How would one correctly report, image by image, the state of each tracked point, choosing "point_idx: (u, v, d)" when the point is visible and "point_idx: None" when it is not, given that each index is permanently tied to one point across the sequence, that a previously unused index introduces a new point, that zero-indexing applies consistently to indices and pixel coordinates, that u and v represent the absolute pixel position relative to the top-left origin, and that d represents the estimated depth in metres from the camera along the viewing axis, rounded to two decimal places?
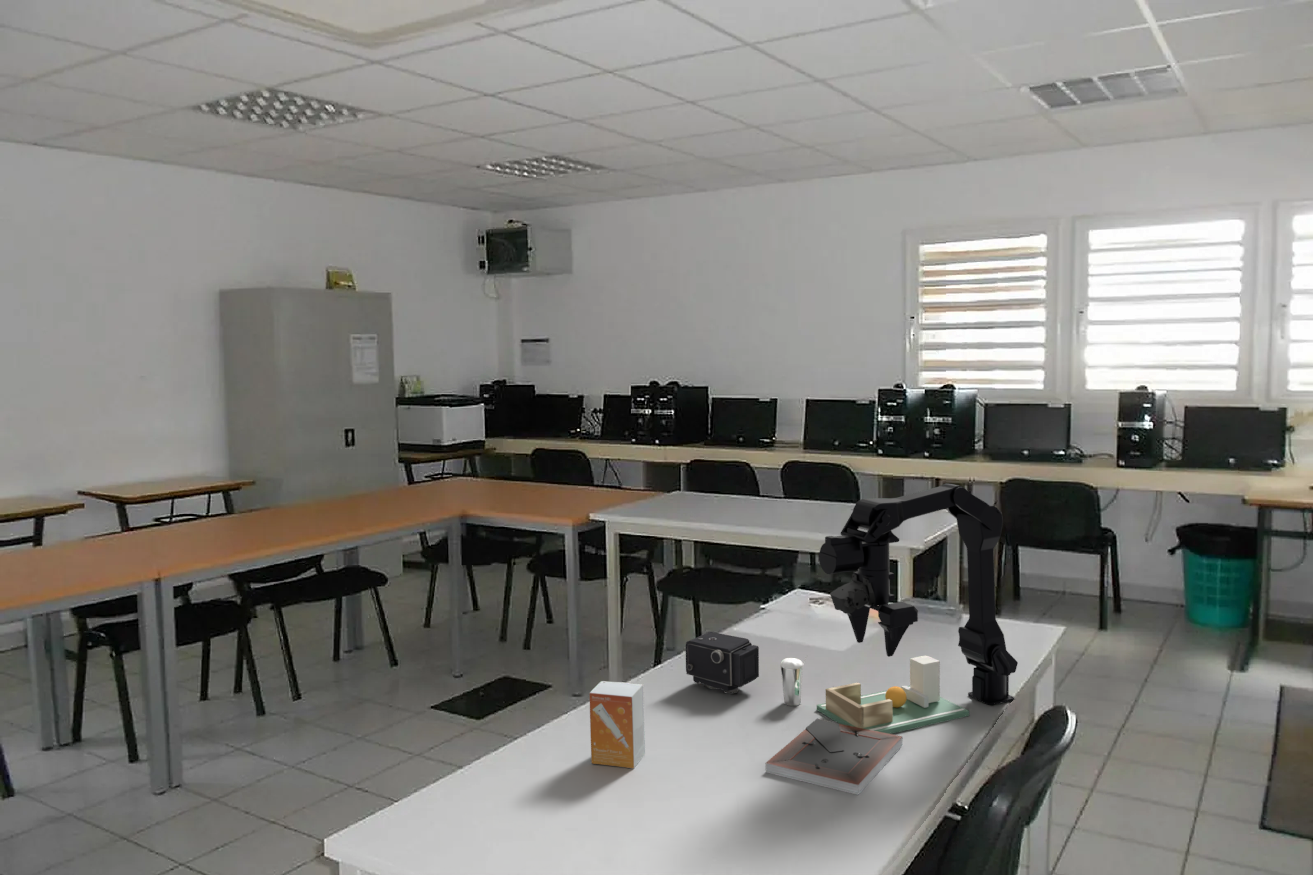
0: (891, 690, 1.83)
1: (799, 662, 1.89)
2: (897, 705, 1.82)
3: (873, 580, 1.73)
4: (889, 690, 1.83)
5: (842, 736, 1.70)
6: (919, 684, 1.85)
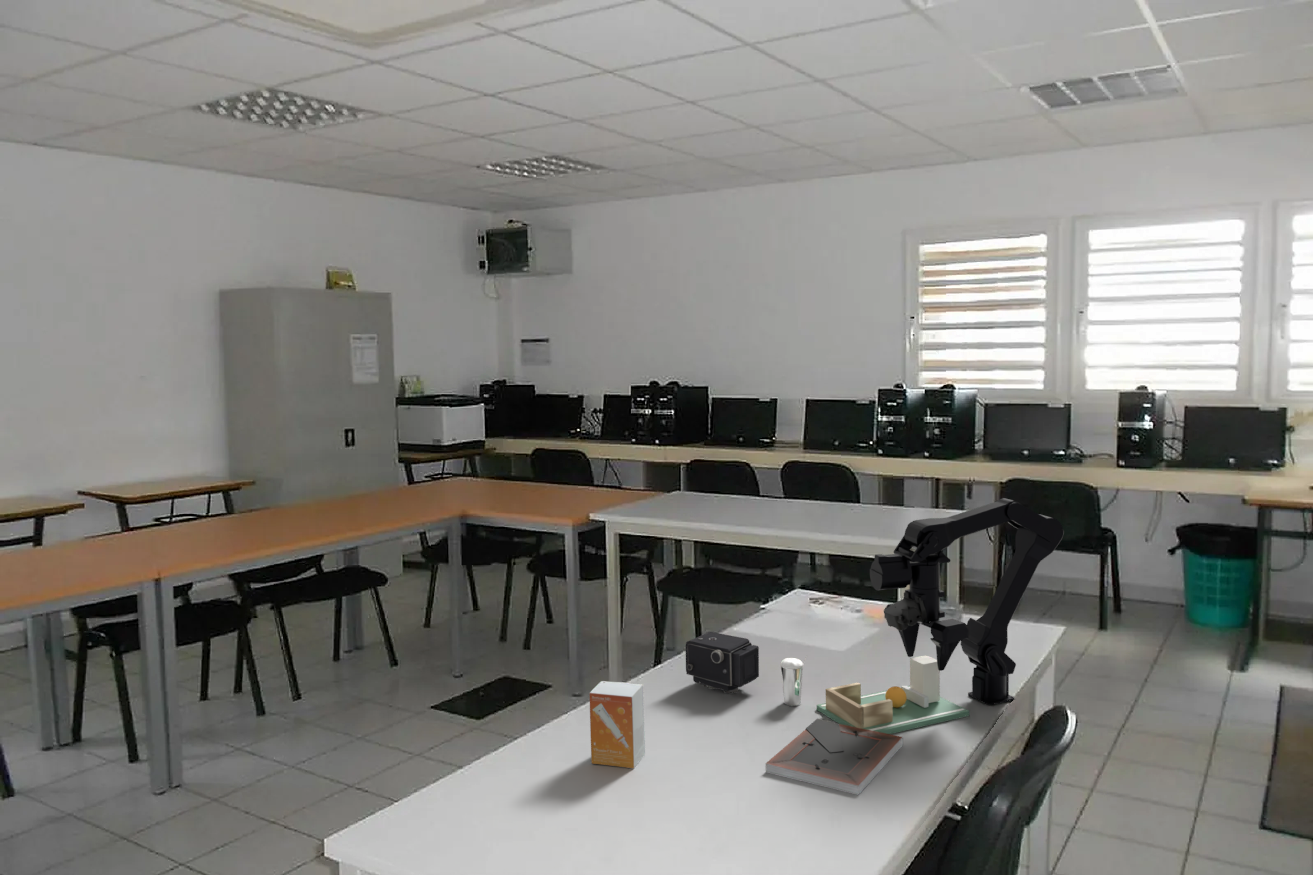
0: (891, 690, 1.83)
1: (799, 662, 1.89)
2: (897, 705, 1.82)
3: (925, 598, 1.82)
4: (889, 690, 1.83)
5: (842, 736, 1.70)
6: (919, 684, 1.85)
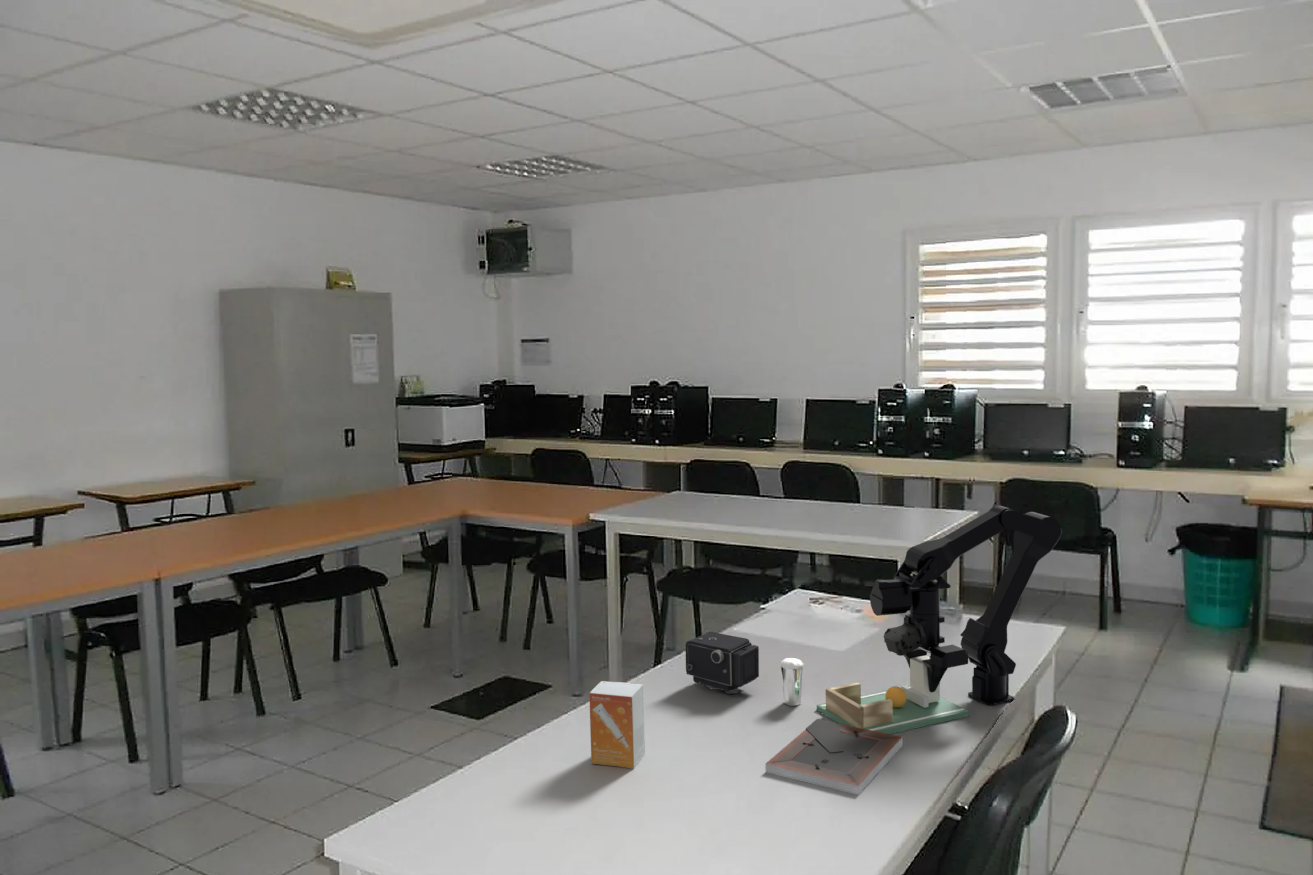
0: (891, 690, 1.83)
1: (799, 662, 1.89)
2: (897, 705, 1.82)
3: (925, 624, 1.82)
4: (889, 690, 1.83)
5: (842, 736, 1.70)
6: (919, 684, 1.85)
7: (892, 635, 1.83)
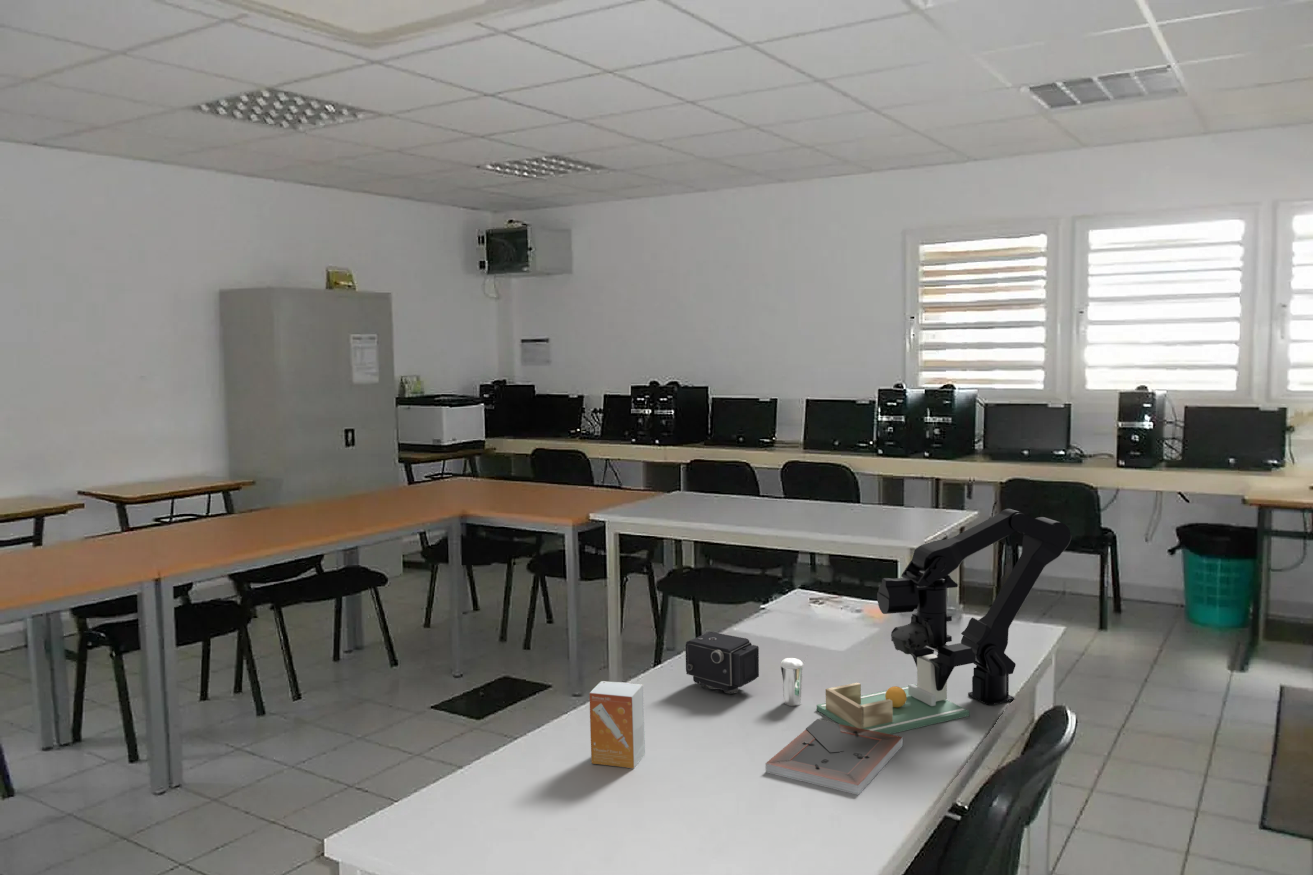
0: (891, 690, 1.83)
1: (799, 662, 1.89)
2: (897, 705, 1.82)
3: (932, 622, 1.83)
4: (889, 690, 1.83)
5: (842, 736, 1.70)
6: (926, 682, 1.86)
7: (899, 634, 1.84)
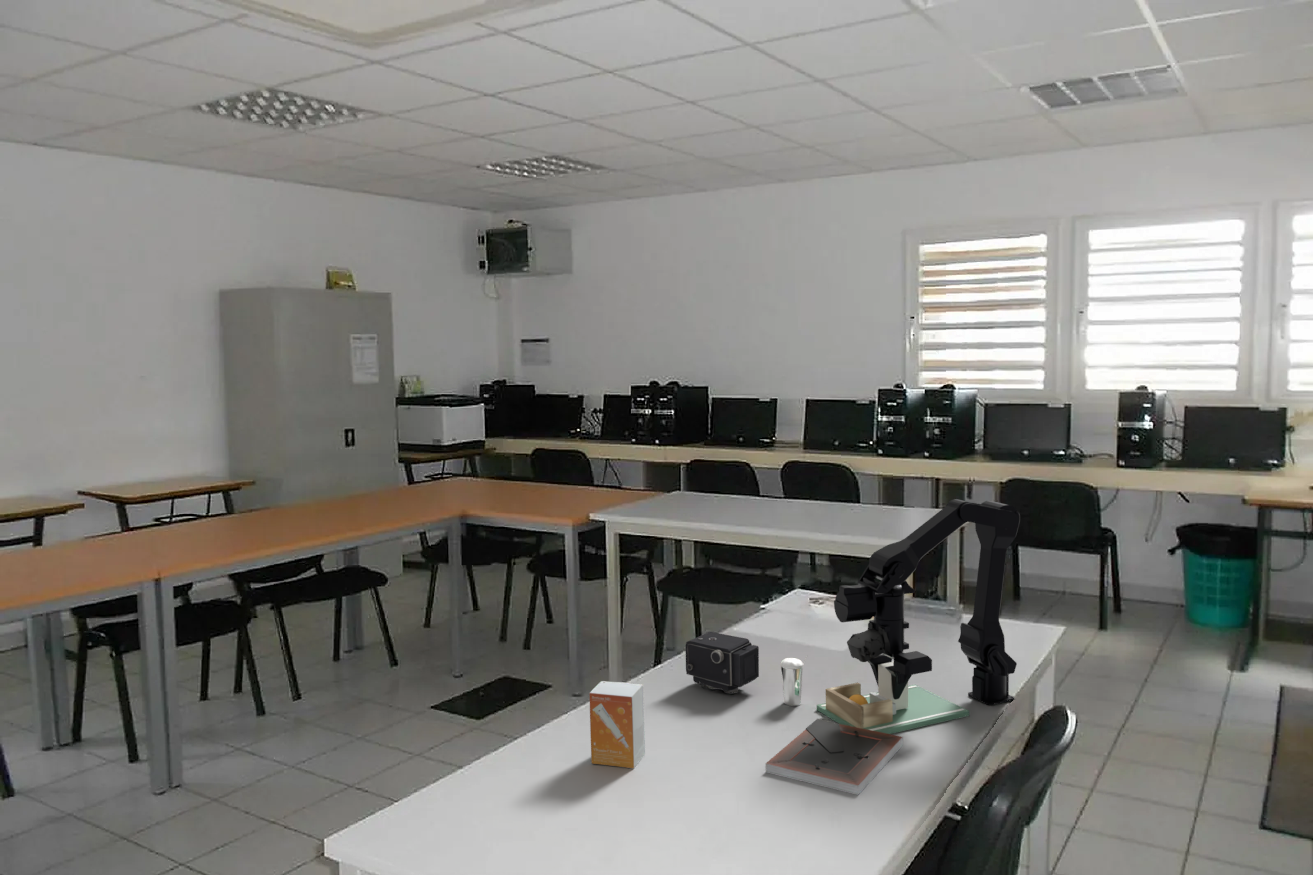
0: None
1: (799, 662, 1.89)
2: (860, 701, 1.79)
3: (888, 629, 1.79)
4: None
5: (842, 736, 1.70)
6: (886, 691, 1.82)
7: (855, 641, 1.80)
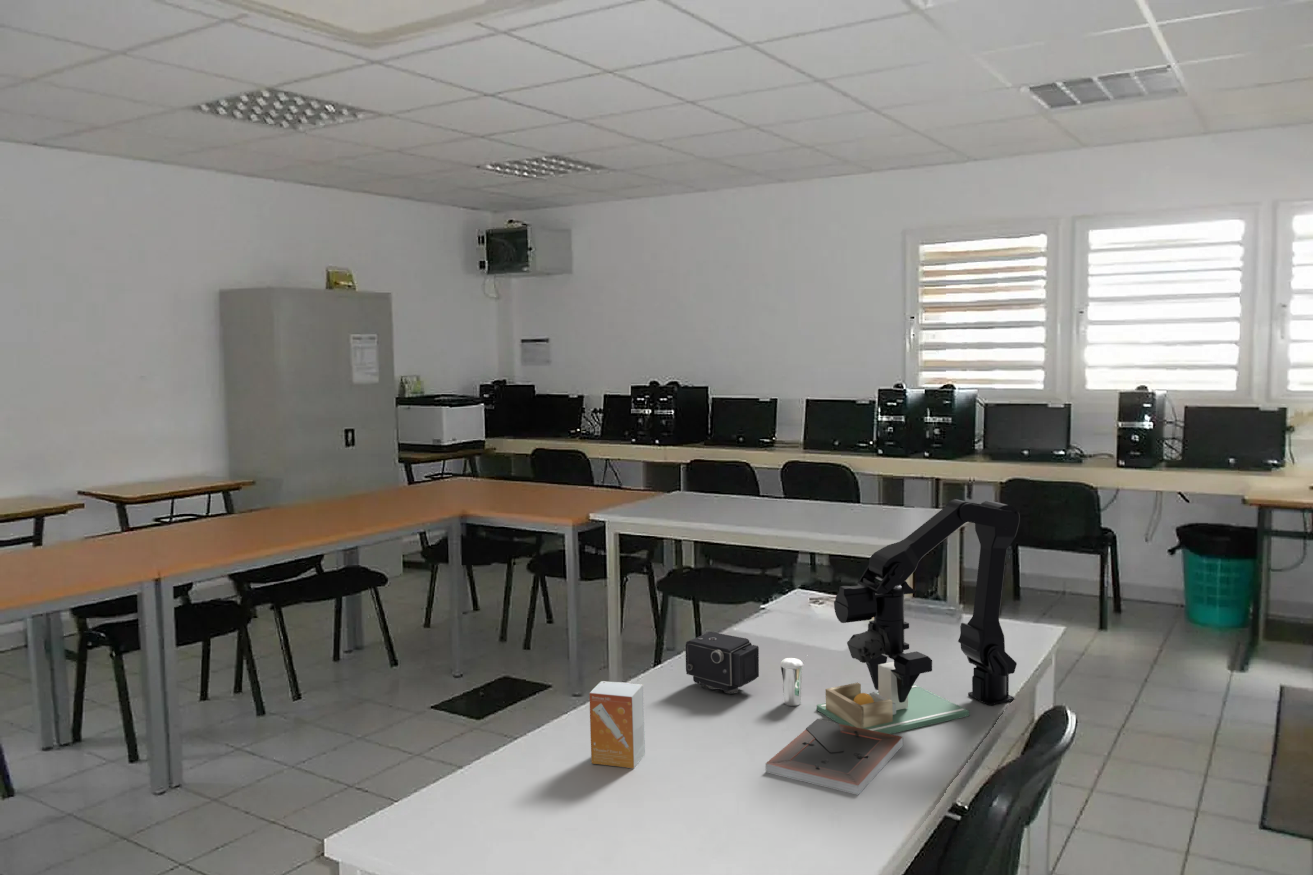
0: None
1: (799, 662, 1.89)
2: (870, 700, 1.80)
3: (889, 630, 1.79)
4: None
5: (842, 736, 1.70)
6: (886, 691, 1.82)
7: (855, 642, 1.80)
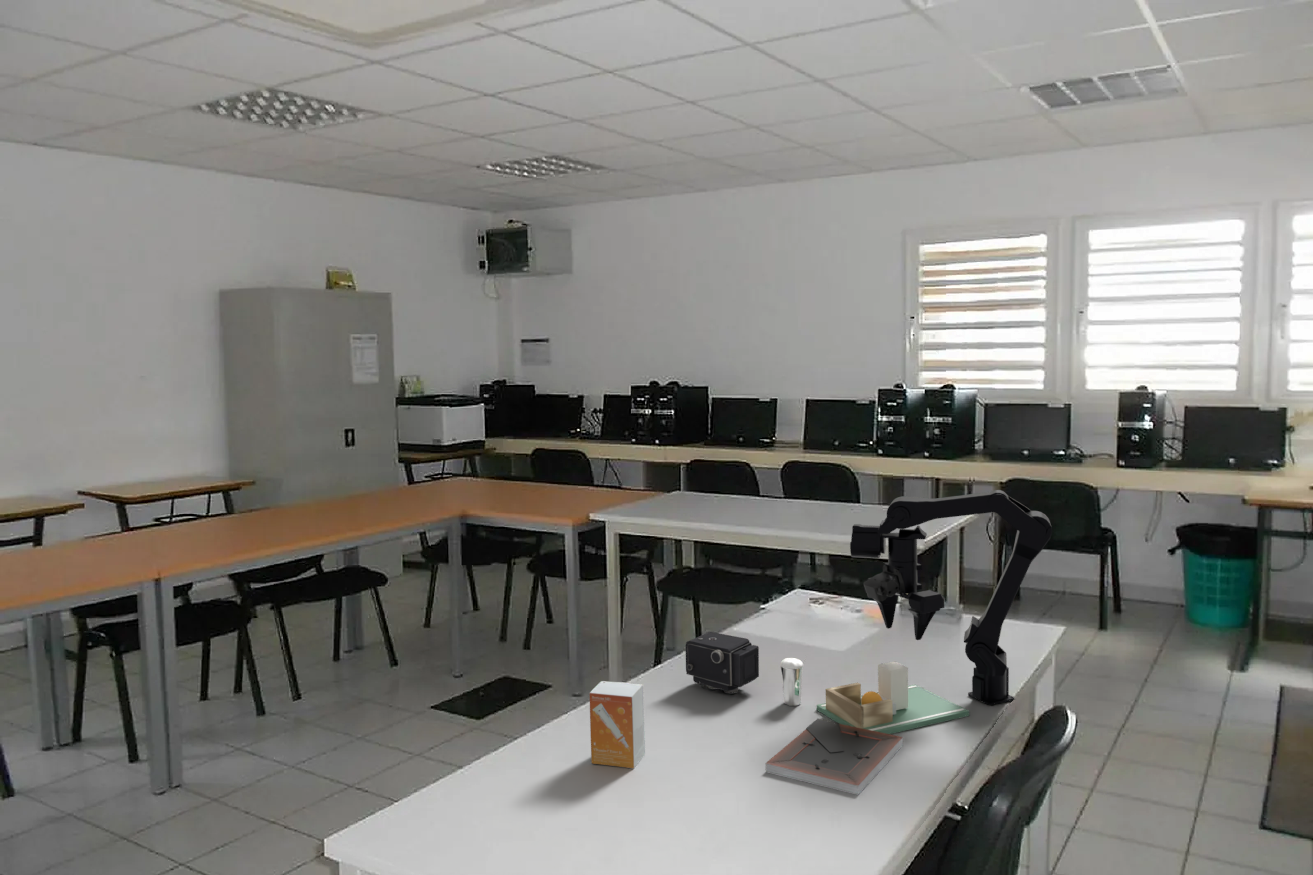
0: None
1: (799, 662, 1.89)
2: None
3: (903, 571, 1.90)
4: None
5: (842, 736, 1.70)
6: (886, 691, 1.82)
7: (872, 582, 1.91)
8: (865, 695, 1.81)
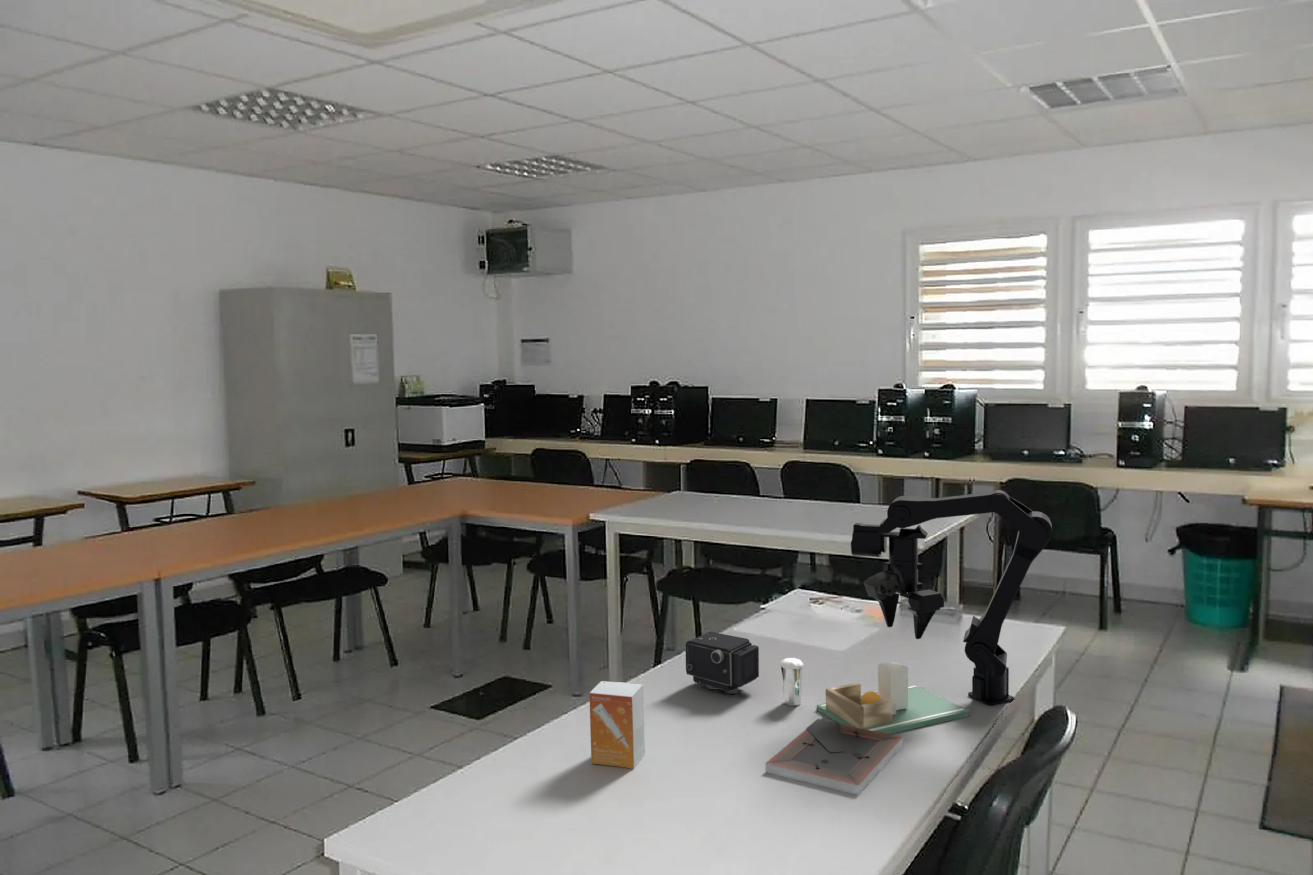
0: None
1: (799, 662, 1.89)
2: None
3: (903, 570, 1.91)
4: None
5: (842, 736, 1.70)
6: (886, 691, 1.82)
7: (872, 581, 1.91)
8: (864, 696, 1.81)
